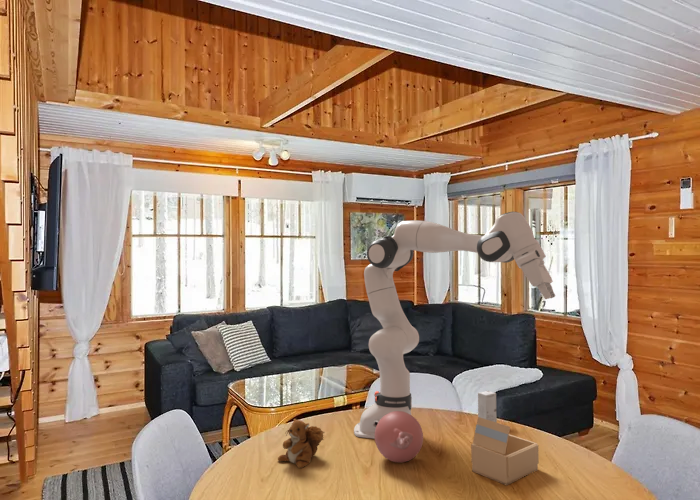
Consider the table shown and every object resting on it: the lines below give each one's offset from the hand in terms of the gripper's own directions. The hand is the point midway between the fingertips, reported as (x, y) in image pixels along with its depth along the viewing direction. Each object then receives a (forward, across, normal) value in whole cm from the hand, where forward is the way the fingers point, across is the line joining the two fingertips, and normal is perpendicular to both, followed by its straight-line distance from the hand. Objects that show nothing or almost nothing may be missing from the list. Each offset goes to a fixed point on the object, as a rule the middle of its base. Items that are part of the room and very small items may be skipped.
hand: (550, 298), depth 154 cm
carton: (+42, +6, -34) cm, 54 cm away
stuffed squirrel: (+17, +29, -88) cm, 94 cm away
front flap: (+30, +13, -31) cm, 45 cm away
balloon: (+29, +17, -62) cm, 70 cm away
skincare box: (+33, -33, -47) cm, 66 cm away
